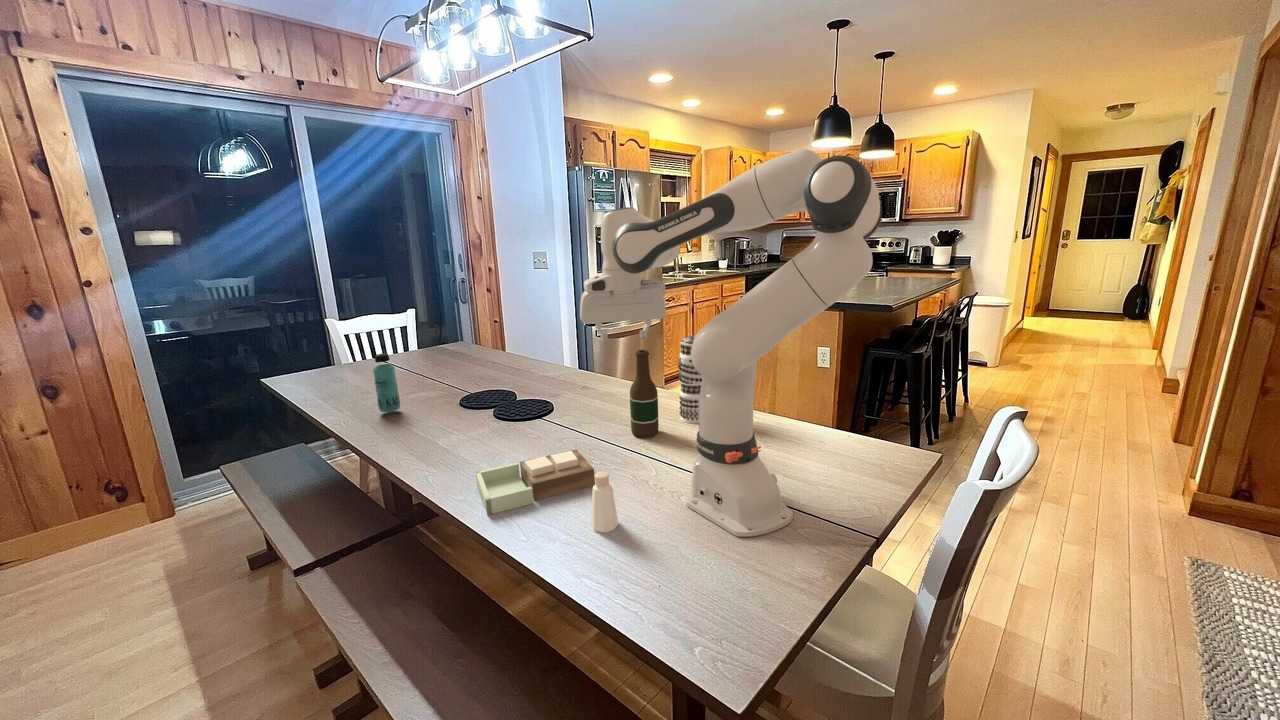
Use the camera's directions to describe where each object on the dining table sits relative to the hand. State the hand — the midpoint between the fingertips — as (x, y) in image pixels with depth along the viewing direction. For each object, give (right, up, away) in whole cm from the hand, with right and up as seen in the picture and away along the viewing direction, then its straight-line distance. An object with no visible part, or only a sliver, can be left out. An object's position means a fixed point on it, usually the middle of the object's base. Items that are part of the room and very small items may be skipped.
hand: (624, 339), depth 121 cm
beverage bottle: (-78, -23, +45) cm, 93 cm away
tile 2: (-14, -29, -4) cm, 32 cm away
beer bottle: (+5, -26, +22) cm, 34 cm away
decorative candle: (+20, -23, +32) cm, 44 cm away
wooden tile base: (-15, -33, -4) cm, 37 cm away
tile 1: (-19, -30, -6) cm, 36 cm away
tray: (-26, -35, -9) cm, 44 cm away
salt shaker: (-3, -38, -22) cm, 44 cm away
